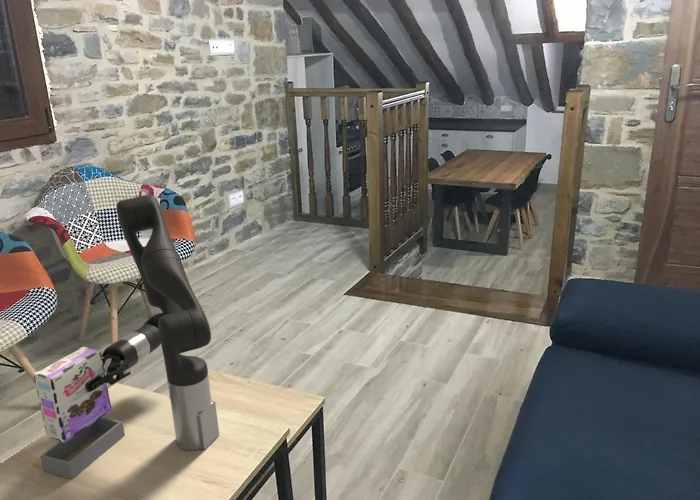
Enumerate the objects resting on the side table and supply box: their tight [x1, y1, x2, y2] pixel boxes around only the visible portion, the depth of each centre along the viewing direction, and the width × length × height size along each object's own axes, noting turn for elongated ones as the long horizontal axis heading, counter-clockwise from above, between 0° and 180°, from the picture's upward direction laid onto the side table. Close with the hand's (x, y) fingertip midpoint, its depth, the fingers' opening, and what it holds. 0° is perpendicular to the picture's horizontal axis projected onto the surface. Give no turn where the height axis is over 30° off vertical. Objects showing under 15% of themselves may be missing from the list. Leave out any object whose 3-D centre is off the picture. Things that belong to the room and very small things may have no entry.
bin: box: [39, 416, 125, 480], centre depth 140 cm, size 9×17×4 cm, turn 158°
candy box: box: [32, 346, 113, 442], centre depth 135 cm, size 14×6×16 cm, turn 154°
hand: (76, 386), depth 136 cm, fingers closed on candy box, 6 cm apart
